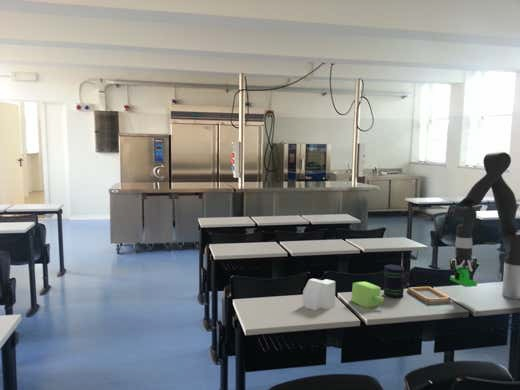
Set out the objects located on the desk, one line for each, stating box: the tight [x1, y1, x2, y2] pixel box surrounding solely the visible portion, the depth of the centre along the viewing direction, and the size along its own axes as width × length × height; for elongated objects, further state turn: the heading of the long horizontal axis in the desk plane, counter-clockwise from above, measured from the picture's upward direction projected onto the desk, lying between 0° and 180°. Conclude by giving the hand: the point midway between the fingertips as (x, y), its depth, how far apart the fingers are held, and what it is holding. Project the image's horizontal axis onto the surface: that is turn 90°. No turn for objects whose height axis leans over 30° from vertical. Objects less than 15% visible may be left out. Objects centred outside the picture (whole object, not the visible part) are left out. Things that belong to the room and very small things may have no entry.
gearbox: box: [351, 281, 385, 309], centre depth 203 cm, size 18×10×10 cm, turn 31°
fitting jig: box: [406, 285, 452, 306], centre depth 213 cm, size 12×20×2 cm, turn 11°
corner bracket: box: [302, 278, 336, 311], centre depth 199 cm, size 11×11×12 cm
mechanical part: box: [449, 268, 478, 288], centre depth 208 cm, size 12×6×8 cm, turn 10°
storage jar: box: [383, 264, 405, 299], centre depth 215 cm, size 10×10×15 cm
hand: (462, 278), depth 208 cm, fingers closed on mechanical part, 6 cm apart
